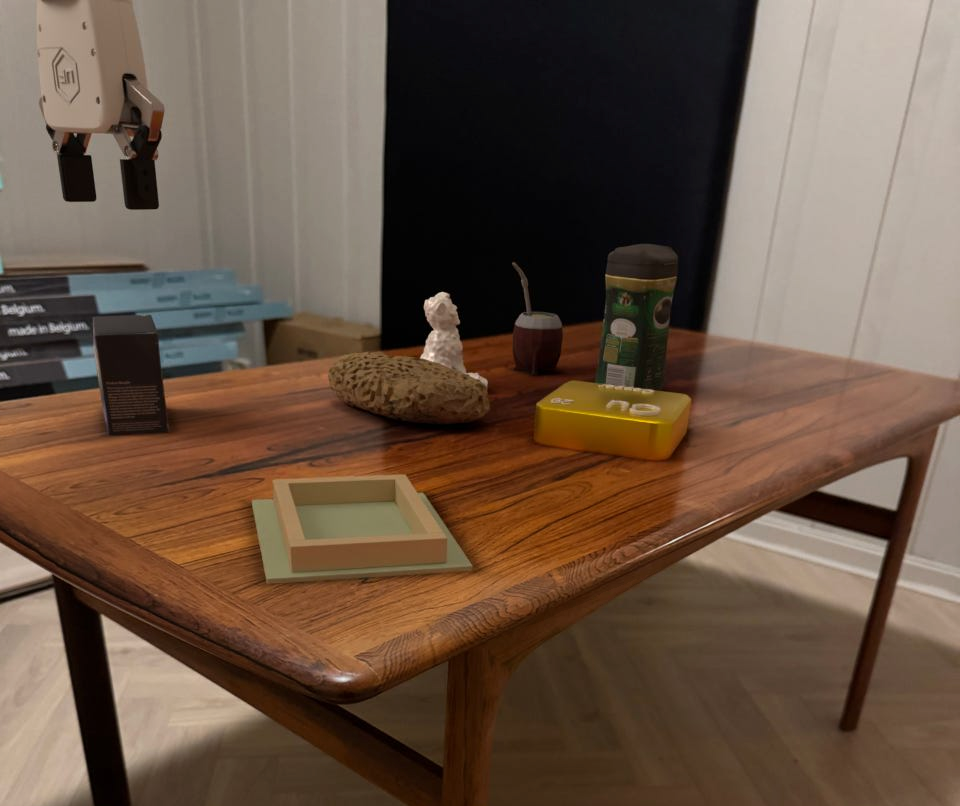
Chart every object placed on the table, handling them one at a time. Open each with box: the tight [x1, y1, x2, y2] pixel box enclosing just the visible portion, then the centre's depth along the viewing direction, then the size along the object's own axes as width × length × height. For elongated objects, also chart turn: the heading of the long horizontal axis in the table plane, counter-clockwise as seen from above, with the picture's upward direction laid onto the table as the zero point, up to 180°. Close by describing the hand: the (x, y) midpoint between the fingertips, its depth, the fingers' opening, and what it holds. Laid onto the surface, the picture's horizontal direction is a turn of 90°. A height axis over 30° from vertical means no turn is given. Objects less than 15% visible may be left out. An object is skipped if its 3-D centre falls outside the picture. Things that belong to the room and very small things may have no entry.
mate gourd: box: [511, 261, 564, 377], centre depth 133 cm, size 8×8×15 cm
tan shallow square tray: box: [251, 474, 474, 585], centre depth 76 cm, size 15×17×3 cm
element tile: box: [533, 380, 692, 462], centre depth 106 cm, size 15×15×5 cm
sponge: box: [327, 351, 491, 426], centre depth 109 cm, size 13×8×20 cm
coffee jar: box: [594, 243, 679, 391], centre depth 123 cm, size 10×8×19 cm
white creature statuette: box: [419, 291, 489, 392], centre depth 122 cm, size 10×9×12 cm
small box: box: [92, 314, 171, 436], centre depth 101 cm, size 11×6×10 cm, turn 21°
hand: (110, 205), depth 88 cm, fingers open, 9 cm apart
